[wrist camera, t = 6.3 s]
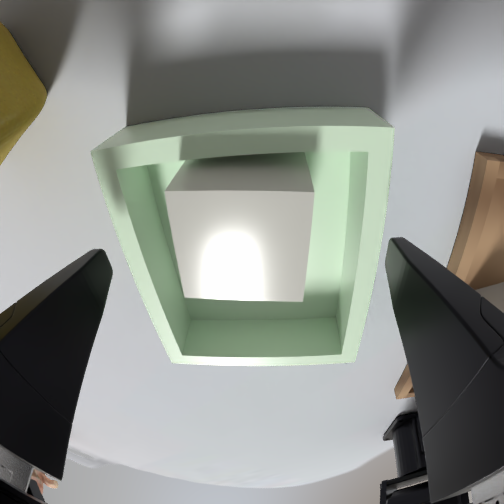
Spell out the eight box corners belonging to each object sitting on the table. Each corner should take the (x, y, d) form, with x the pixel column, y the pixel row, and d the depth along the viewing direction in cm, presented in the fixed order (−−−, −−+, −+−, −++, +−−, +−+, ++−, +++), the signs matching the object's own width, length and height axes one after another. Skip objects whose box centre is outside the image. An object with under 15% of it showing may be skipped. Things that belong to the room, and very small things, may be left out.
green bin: (347, 319, 17) (354, 362, 15) (183, 322, 18) (171, 363, 16) (368, 107, 11) (394, 127, 8) (125, 126, 12) (90, 151, 9)
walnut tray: (468, 375, 22) (471, 384, 21) (394, 389, 23) (396, 399, 22) (566, 167, 10) (577, 175, 9) (475, 151, 11) (487, 159, 10)
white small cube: (497, 321, 17) (518, 366, 13) (451, 335, 17) (469, 385, 14) (512, 279, 14) (541, 327, 11) (462, 293, 15) (488, 347, 12)
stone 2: (297, 234, 14) (302, 301, 11) (205, 232, 14) (184, 297, 11) (302, 145, 11) (314, 192, 8) (196, 145, 12) (164, 191, 8)
